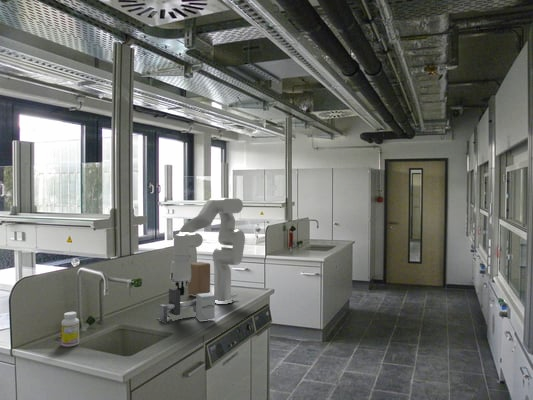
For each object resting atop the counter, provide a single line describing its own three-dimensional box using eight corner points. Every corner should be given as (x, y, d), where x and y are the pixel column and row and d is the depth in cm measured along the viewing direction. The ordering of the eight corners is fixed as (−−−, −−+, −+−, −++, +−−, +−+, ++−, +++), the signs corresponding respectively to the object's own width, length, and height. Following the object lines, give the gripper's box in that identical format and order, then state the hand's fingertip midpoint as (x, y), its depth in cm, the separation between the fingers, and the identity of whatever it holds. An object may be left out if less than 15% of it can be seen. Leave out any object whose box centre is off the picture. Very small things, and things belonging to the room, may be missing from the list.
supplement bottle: (64, 341, 182) (65, 311, 182) (81, 341, 183) (81, 310, 183) (58, 347, 176) (58, 315, 176) (75, 347, 176) (75, 315, 176)
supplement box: (200, 323, 211) (200, 296, 211) (195, 319, 218) (195, 293, 217) (215, 321, 214) (215, 295, 214) (209, 317, 221) (210, 292, 221)
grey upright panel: (172, 311, 222) (173, 287, 222) (180, 314, 216) (180, 290, 216) (168, 312, 220) (168, 288, 220) (175, 315, 215) (176, 291, 215)
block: (210, 295, 268) (210, 263, 268) (198, 298, 260) (198, 265, 260) (199, 293, 274) (199, 261, 274) (187, 296, 266) (187, 263, 266)
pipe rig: (195, 311, 231) (195, 297, 231) (203, 315, 225) (203, 299, 225) (156, 319, 216) (156, 303, 216) (164, 322, 210) (164, 306, 210)
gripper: (190, 256, 228) (189, 291, 228) (164, 258, 218) (163, 295, 218) (197, 258, 222) (197, 294, 222) (171, 260, 213) (171, 298, 213)
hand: (180, 294), depth 220 cm, fingers closed
